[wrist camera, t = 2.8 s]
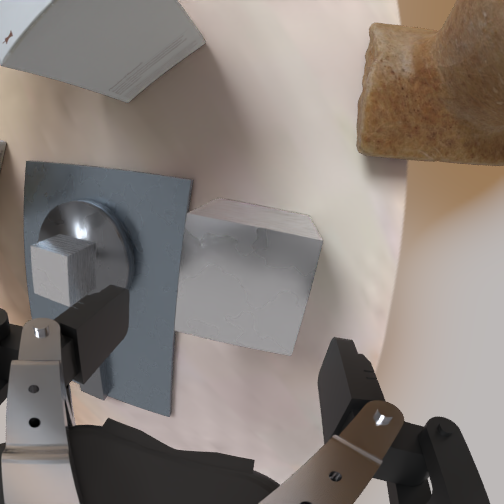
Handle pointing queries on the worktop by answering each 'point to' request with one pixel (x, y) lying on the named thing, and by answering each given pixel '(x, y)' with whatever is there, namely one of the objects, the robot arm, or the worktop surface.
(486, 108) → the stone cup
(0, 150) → the coffee box
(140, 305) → the grey base plate
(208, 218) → the brushed steel cube
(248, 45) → the worktop surface
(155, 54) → the supplement box
